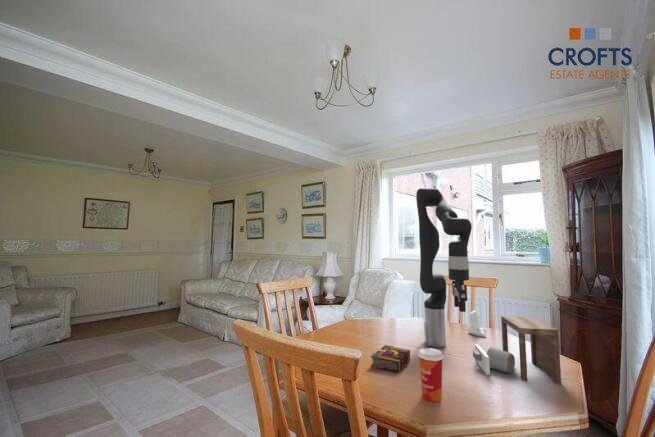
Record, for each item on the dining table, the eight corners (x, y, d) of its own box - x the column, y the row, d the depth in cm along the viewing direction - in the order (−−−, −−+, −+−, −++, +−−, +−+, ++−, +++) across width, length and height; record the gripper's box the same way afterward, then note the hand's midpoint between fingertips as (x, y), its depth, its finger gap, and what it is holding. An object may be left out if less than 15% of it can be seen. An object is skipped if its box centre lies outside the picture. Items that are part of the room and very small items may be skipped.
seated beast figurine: (486, 337, 153) (485, 313, 154) (467, 335, 157) (466, 312, 158) (485, 332, 162) (484, 309, 163) (467, 330, 166) (467, 308, 167)
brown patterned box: (411, 360, 125) (410, 348, 125) (398, 375, 111) (397, 361, 111) (385, 355, 131) (384, 343, 131) (369, 368, 117) (369, 355, 117)
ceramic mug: (510, 376, 109) (509, 354, 110) (486, 369, 115) (485, 348, 116) (518, 368, 116) (517, 348, 117) (495, 362, 122) (495, 343, 123)
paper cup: (415, 392, 98) (414, 347, 99) (438, 391, 99) (436, 346, 100) (425, 405, 90) (423, 356, 91) (449, 403, 91) (448, 355, 92)
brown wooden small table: (522, 380, 106) (520, 328, 107) (503, 360, 123) (501, 315, 125) (561, 383, 103) (558, 329, 105) (535, 363, 121) (533, 317, 123)
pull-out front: (480, 374, 110) (479, 356, 111) (470, 359, 124) (469, 343, 124) (489, 375, 110) (489, 356, 110) (478, 360, 123) (477, 344, 124)
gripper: (445, 266, 128) (446, 305, 127) (452, 269, 114) (453, 312, 113) (464, 266, 127) (465, 305, 126) (473, 269, 113) (475, 313, 112)
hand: (459, 309), depth 119 cm, fingers open, 8 cm apart
